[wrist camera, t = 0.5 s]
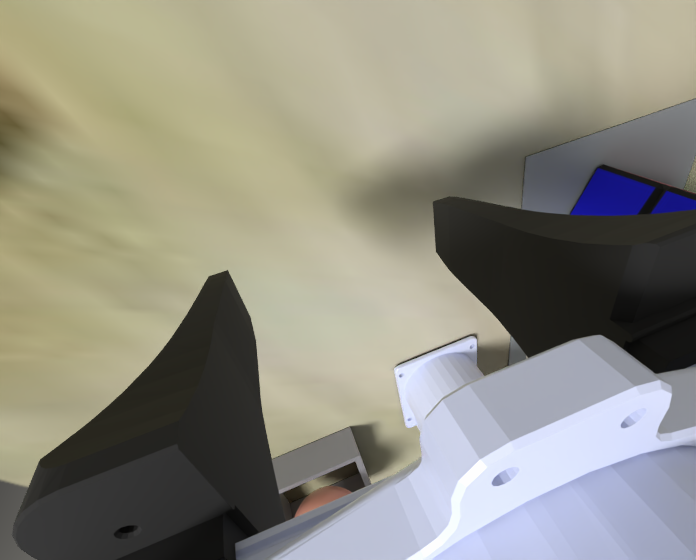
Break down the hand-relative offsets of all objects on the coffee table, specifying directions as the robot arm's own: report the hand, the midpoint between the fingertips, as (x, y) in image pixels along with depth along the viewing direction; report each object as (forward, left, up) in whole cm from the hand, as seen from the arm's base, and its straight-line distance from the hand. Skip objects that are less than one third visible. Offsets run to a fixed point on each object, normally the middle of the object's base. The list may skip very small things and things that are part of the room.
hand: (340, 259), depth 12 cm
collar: (-30, +7, -10) cm, 32 cm away
